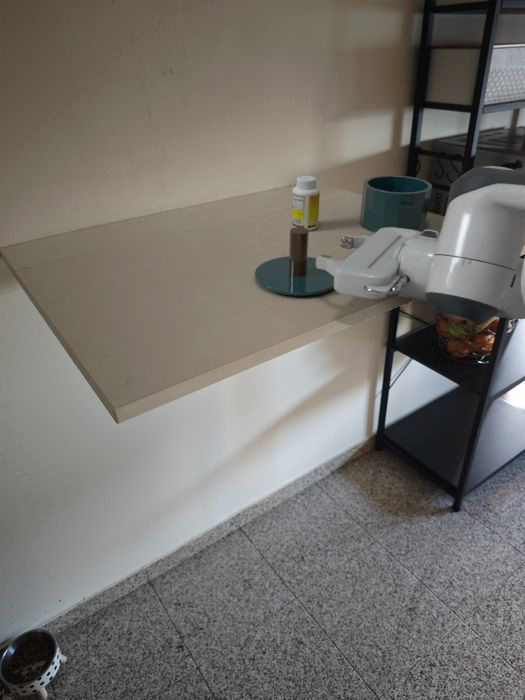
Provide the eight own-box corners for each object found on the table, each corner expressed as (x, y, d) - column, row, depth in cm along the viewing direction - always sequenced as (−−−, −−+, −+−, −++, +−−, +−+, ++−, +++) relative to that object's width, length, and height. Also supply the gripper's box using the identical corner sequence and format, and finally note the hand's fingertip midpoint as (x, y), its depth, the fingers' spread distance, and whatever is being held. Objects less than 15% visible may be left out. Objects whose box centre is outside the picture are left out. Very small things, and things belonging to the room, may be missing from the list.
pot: (426, 217, 111) (433, 178, 106) (422, 238, 100) (430, 196, 96) (364, 211, 115) (369, 173, 110) (355, 231, 104) (359, 190, 99)
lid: (347, 267, 89) (352, 220, 84) (331, 304, 77) (335, 252, 72) (269, 257, 93) (269, 212, 88) (242, 291, 81) (241, 241, 76)
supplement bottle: (318, 223, 108) (320, 174, 102) (317, 232, 103) (320, 182, 98) (292, 222, 109) (293, 174, 103) (290, 231, 104) (292, 181, 98)
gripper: (391, 318, 67) (300, 294, 73) (431, 264, 82) (352, 248, 88) (398, 275, 63) (301, 253, 69) (439, 227, 78) (356, 213, 84)
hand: (330, 250), depth 79 cm, fingers open, 8 cm apart
